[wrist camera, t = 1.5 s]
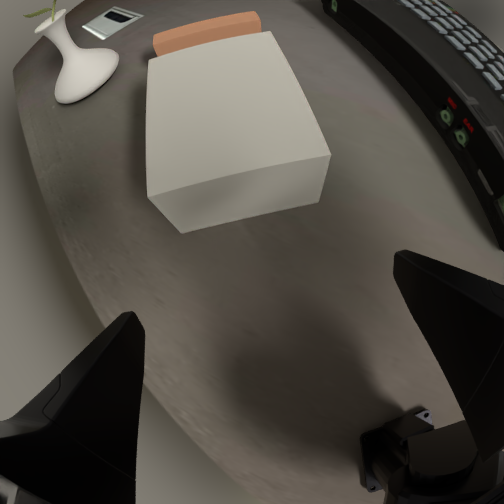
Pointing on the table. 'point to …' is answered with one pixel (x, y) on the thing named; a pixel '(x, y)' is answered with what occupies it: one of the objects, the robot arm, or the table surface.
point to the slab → (230, 134)
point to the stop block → (206, 32)
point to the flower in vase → (76, 60)
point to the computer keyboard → (442, 81)
